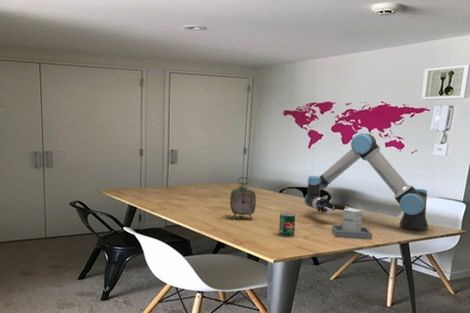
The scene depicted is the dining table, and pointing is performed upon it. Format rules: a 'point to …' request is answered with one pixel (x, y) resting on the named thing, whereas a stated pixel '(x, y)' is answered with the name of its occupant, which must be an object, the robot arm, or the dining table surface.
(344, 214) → the supplement box
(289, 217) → the canned tomato
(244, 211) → the tabletop clock
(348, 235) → the gray tray
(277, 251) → the dining table surface
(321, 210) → the robot arm
